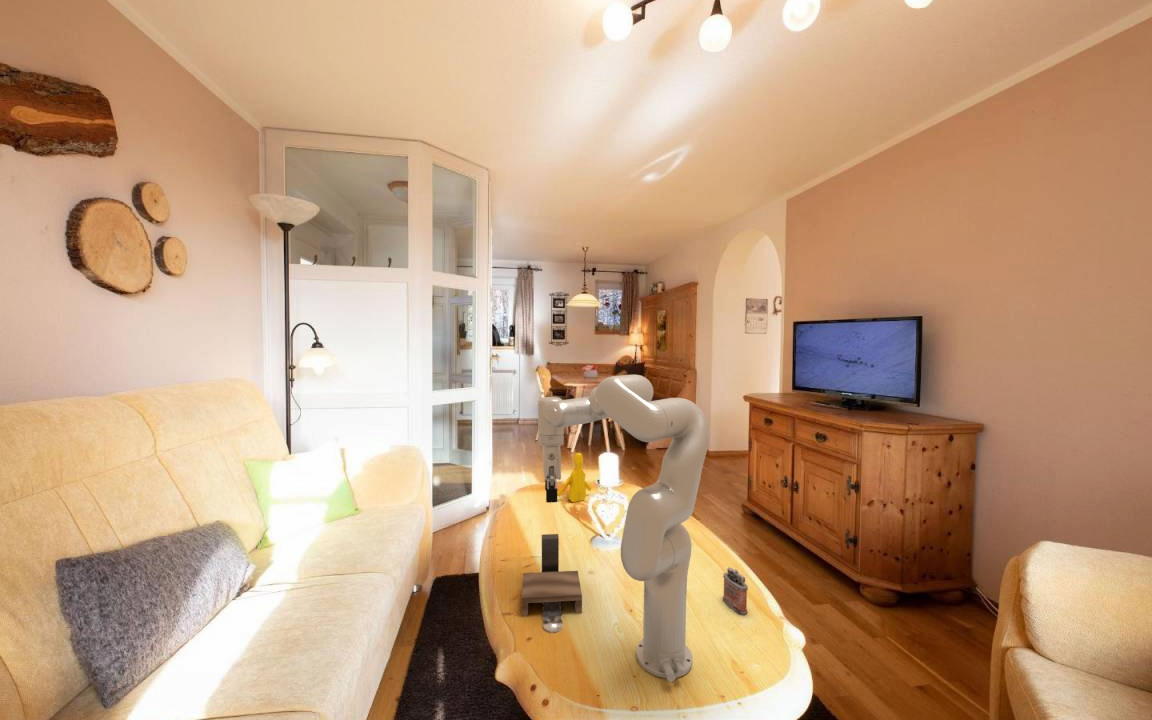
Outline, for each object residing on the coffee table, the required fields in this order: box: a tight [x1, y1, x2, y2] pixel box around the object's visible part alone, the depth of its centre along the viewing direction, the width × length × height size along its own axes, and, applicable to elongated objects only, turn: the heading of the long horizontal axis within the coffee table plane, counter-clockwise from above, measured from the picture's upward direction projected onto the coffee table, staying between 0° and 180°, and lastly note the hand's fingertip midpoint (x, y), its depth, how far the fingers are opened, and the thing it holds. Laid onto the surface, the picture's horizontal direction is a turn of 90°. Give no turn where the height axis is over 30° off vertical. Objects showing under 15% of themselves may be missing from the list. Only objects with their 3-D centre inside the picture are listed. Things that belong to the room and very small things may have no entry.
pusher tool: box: [541, 533, 563, 621], centre depth 122 cm, size 19×5×14 cm, turn 5°
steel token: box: [542, 616, 564, 634], centre depth 111 cm, size 5×5×1 cm
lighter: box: [722, 566, 749, 617], centre depth 119 cm, size 8×3×10 cm, turn 21°
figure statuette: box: [557, 452, 592, 503], centre depth 196 cm, size 18×8×22 cm, turn 118°
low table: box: [521, 570, 583, 617], centre depth 121 cm, size 12×16×5 cm
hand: (551, 495), depth 130 cm, fingers open, 9 cm apart
